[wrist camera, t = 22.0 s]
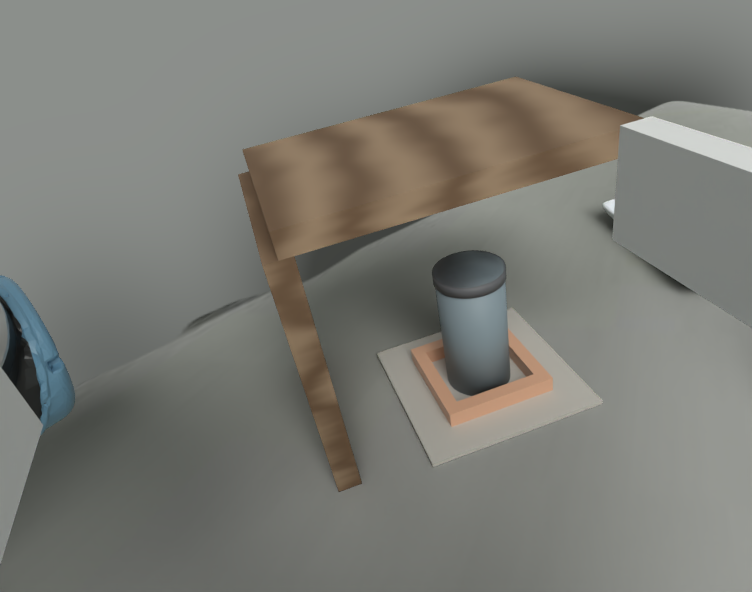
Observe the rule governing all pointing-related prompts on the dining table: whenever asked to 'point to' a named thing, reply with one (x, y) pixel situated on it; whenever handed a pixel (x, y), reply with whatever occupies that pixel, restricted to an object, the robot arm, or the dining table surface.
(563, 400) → the seat collar
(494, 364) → the canister
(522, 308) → the dining table surface
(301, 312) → the shelf
